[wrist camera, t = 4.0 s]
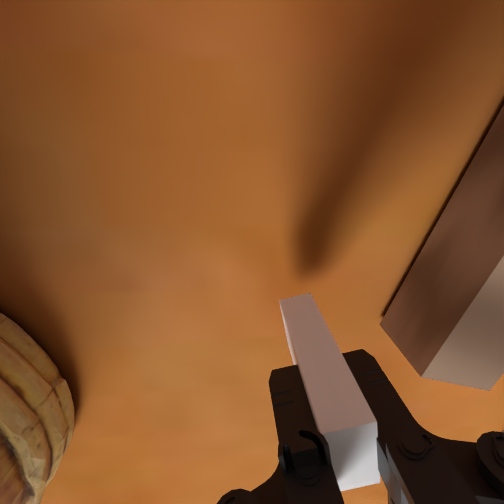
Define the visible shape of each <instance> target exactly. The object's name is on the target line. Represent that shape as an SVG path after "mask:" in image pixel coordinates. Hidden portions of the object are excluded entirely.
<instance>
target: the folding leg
mask: <svg viewBox="0 0 504 504" xmlns="http://www.w3.org/2000/svg"><path fill="white" fill-rule="evenodd" d="M380 326H381V327H382V328H383V329H384V331H385V332H386V333H387V335H388V336H389V337H390V338H391V340H392V341H393V342H394V343H395V345H396V346H397V347H398V348H399V350H400V351H401V352H402V354H403V355H404V356H405V357H406V359H407V360H408V361H409V362H410V364H411V365H412V366H413V368H414V369H415V370H416V371H417V373H418V374H419V375H420V376H421V377H423V378H428V379H433V380H438V381H443V382H448V383H453V384H458V385H463V386H468V387H473V388H478V389H483V390H488V391H490V389H491V388H492V387H493V386H494V384H495V383H496V382H497V381H498V379H499V378H500V377H501V376H502V375H503V373H504V105H503V107H502V109H501V111H500V112H499V114H498V116H497V118H496V120H495V121H494V123H493V125H492V127H491V128H490V130H489V132H488V134H487V135H486V137H485V139H484V141H483V143H482V144H481V146H480V148H479V150H478V151H477V153H476V155H475V157H474V158H473V160H472V162H471V164H470V165H469V167H468V169H467V171H466V173H465V174H464V176H463V178H462V180H461V181H460V183H459V185H458V187H457V188H456V190H455V192H454V194H453V195H452V197H451V199H450V201H449V203H448V204H447V206H446V208H445V210H444V211H443V213H442V215H441V217H440V218H439V220H438V222H437V224H436V226H435V227H434V229H433V231H432V233H431V234H430V236H429V238H428V240H427V241H426V243H425V245H424V247H423V248H422V250H421V252H420V254H419V256H418V257H417V259H416V261H415V263H414V264H413V266H412V268H411V270H410V271H409V273H408V275H407V277H406V278H405V280H404V282H403V284H402V286H401V287H400V289H399V291H398V293H397V294H396V296H395V298H394V300H393V301H392V303H391V305H390V307H389V309H388V310H387V312H386V314H385V316H384V317H383V319H382V321H381V323H380Z"/></svg>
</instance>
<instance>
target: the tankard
mask: <svg viewBox="0 0 504 504" xmlns="http://www.w3.org/2000/svg"><path fill="white" fill-rule="evenodd" d="M74 427H75V422H74V406H73V401H72V397H71V393H70V390H69V388H68V385H67V382H66V380H65V379H62V377H61V375H60V373H59V371H58V368H57V367H56V366H55V364H54V363H53V361H52V360H51V359H50V357H49V356H48V354H47V353H46V352H45V351H44V350H43V349H42V348H41V347H40V346H39V345H38V344H37V343H36V342H35V341H34V340H33V339H32V338H31V337H30V336H29V335H28V334H27V333H26V332H25V331H24V330H23V329H22V328H21V327H19V326H18V325H17V324H16V323H15V322H13V321H12V320H10V319H9V318H8V317H6V316H5V315H3V314H2V313H0V504H40V502H41V499H42V495H43V492H44V489H45V487H46V486H47V485H48V483H49V482H50V481H51V479H52V478H53V477H54V475H55V473H56V471H57V469H58V466H59V464H60V462H61V459H62V456H63V454H64V453H65V451H66V449H67V448H68V446H69V443H70V440H71V437H72V434H73V430H74Z"/></svg>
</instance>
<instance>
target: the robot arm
mask: <svg viewBox="0 0 504 504" xmlns="http://www.w3.org/2000/svg"><path fill="white" fill-rule="evenodd" d="M279 302H280V307H281V312H282V317H283V322H284V327H285V332H286V337H287V342H288V346H289V349H290V353H291V356H292V360H293V363H294V365H292V366H288V367H284V368H279V369H275V370H272V372H271V376H270V379H269V387H270V393H271V399H272V405H273V411H274V417H275V422H276V428H277V434H278V440H279V445H278V458H279V464H278V466H277V469H276V471H275V472H274V473H273V475H272V476H271V477H270V478H269V479H268V480H267V481H266V482H264V483H263V484H261V485H260V486H258V487H257V488H255V489H254V490H252V491H251V492H250V491H247V490H244V489H236V490H231V491H230V492H228V493H226V494H225V495H223V496H222V497H221V499H220V500H219V501H218V503H217V504H344V501H343V498H342V495H341V491H345V490H349V489H354V488H358V487H363V486H367V485H372V484H376V483H380V475H381V477H382V479H383V481H384V484H385V486H386V488H387V490H388V504H504V432H495V431H491V432H488V433H484V434H482V435H481V436H480V437H479V439H478V440H477V443H474V442H465V441H457V440H449V439H444V438H441V437H438V436H436V435H433V434H432V433H430V432H428V431H427V430H425V429H424V428H423V427H421V426H420V425H419V424H418V423H417V422H416V420H415V419H414V418H413V416H412V415H411V413H410V412H409V410H408V409H407V407H406V406H405V404H404V402H403V401H402V399H401V398H400V396H399V395H398V393H397V392H396V390H395V389H394V387H393V386H392V384H391V383H390V381H389V380H388V378H387V376H386V375H385V373H384V372H383V371H382V369H381V367H380V366H379V364H378V363H377V361H376V359H375V358H374V357H373V356H371V355H370V354H369V353H367V352H366V351H365V350H363V349H360V350H356V351H351V352H347V353H341V351H340V349H339V347H338V345H337V343H336V342H335V340H334V338H333V336H332V334H331V332H330V330H329V328H328V326H327V324H326V322H325V320H324V318H323V316H322V314H321V313H320V311H319V309H318V307H317V305H316V303H315V301H314V299H313V297H312V295H311V293H307V294H303V295H298V296H294V297H290V298H285V299H281V300H279Z"/></svg>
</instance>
